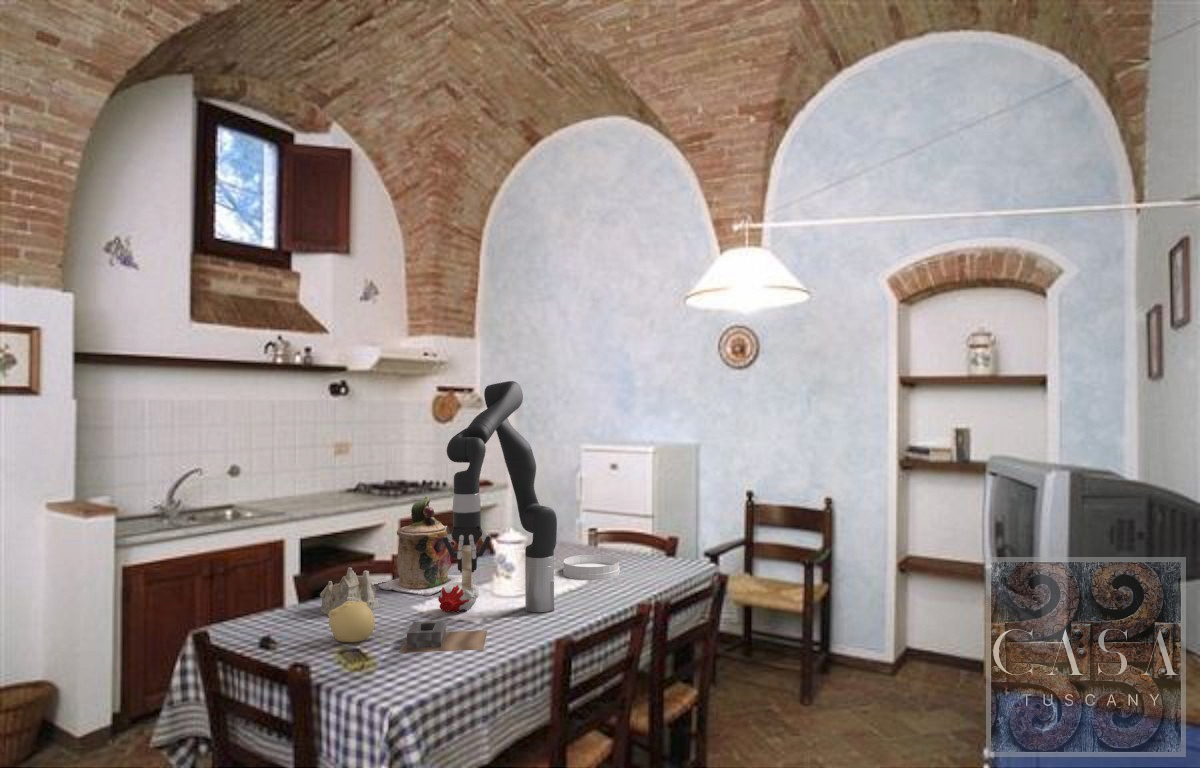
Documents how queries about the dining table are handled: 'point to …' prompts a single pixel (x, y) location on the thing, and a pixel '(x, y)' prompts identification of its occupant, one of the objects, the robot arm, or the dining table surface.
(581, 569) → the dish
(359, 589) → the ceramic cottage
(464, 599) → the red-white knobbly ovoid
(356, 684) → the dining table surface
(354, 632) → the cream sphere
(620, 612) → the dining table surface
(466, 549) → the beige rectangular bar
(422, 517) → the cookie jar
